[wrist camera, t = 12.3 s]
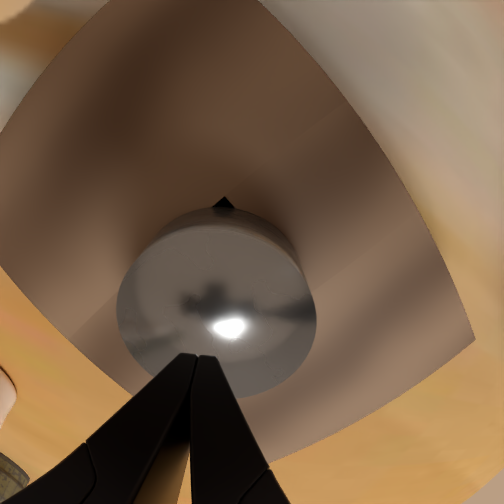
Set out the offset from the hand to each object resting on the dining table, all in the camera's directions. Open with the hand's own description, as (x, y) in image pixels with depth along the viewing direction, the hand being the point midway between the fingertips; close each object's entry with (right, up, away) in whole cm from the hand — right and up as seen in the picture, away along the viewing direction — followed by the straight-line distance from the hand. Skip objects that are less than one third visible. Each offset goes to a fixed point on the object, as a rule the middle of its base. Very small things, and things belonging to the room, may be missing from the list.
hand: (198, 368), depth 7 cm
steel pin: (0, +3, +8) cm, 9 cm away
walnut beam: (0, +3, +9) cm, 9 cm away
